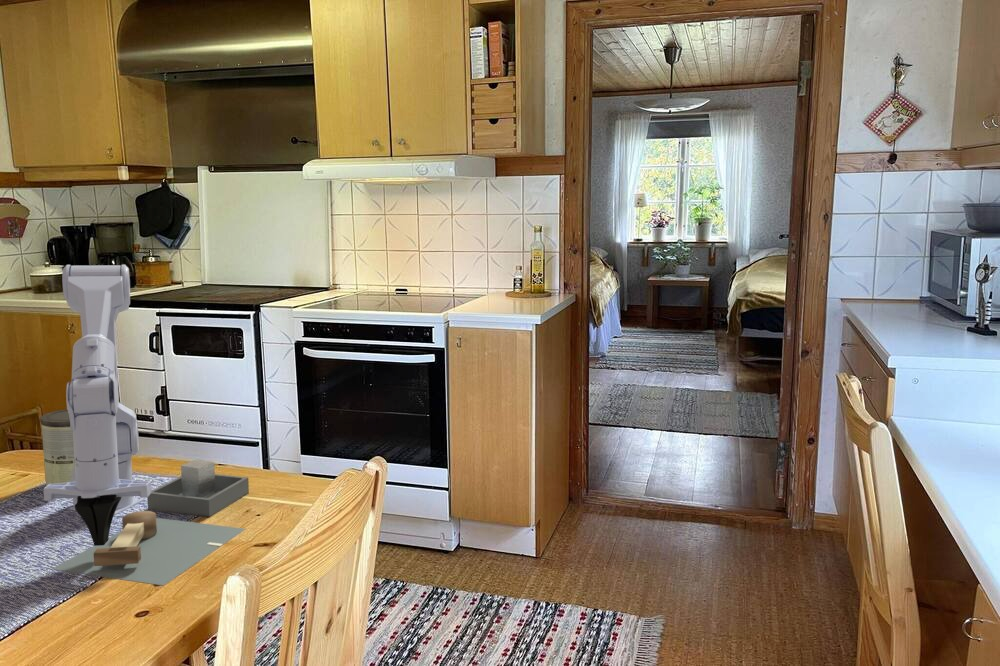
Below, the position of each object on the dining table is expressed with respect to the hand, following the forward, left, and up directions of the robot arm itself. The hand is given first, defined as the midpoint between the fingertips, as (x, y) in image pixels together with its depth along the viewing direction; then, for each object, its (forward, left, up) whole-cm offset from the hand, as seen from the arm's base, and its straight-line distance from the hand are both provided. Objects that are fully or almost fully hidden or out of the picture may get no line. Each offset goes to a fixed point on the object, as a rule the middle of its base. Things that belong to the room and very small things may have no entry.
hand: (101, 542), depth 116 cm
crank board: (+5, +6, -3) cm, 8 cm away
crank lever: (+2, +4, -2) cm, 5 cm away
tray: (-1, +25, -3) cm, 25 cm away
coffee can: (-30, +27, -3) cm, 40 cm away
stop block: (-1, +25, -2) cm, 25 cm away
